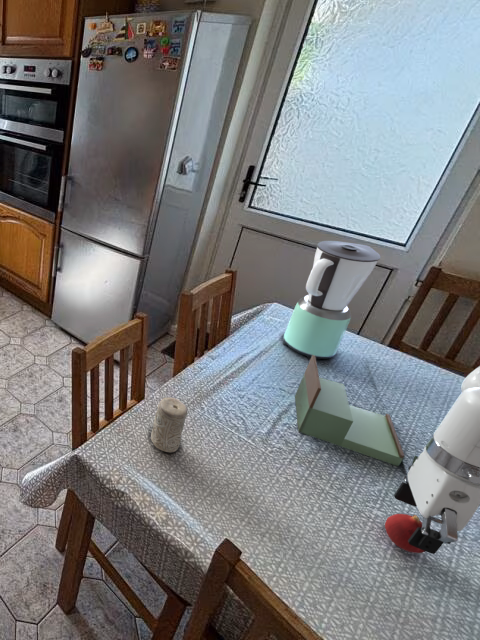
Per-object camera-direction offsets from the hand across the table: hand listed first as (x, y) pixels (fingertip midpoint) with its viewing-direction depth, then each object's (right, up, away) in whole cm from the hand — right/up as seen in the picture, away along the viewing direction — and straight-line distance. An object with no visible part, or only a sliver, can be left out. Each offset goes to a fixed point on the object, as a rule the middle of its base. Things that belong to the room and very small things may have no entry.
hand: (412, 523), depth 74 cm
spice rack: (+12, +6, +27) cm, 30 cm away
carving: (-33, +3, +24) cm, 41 cm away
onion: (+1, -6, +3) cm, 7 cm away
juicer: (+26, +19, +55) cm, 63 cm away
